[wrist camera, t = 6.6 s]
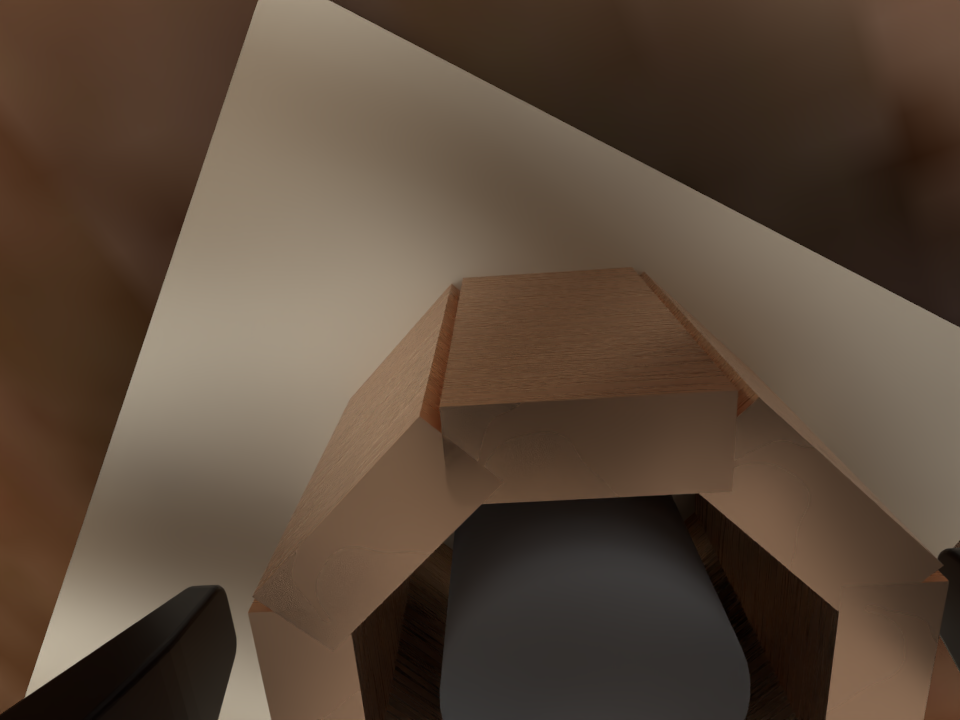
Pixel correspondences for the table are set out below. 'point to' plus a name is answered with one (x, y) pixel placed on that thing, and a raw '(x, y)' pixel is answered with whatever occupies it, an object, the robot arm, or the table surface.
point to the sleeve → (587, 475)
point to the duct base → (393, 313)
